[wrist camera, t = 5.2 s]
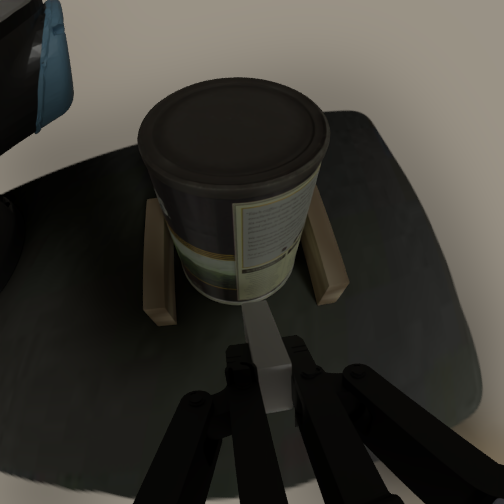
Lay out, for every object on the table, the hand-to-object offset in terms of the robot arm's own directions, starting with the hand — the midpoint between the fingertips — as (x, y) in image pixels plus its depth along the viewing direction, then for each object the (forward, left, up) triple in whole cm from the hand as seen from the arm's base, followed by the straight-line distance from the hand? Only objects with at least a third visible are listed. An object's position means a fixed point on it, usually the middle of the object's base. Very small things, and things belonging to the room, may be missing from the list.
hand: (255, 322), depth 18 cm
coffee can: (0, +8, -6) cm, 10 cm away
